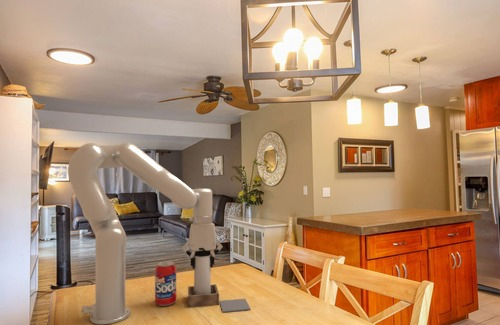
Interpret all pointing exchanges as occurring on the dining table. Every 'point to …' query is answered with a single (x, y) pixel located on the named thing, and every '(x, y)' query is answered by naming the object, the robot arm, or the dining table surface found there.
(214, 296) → the brown wooden tray
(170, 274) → the soda can
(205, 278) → the travel mug
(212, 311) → the dining table surface
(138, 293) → the dining table surface
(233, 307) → the rubber mat
